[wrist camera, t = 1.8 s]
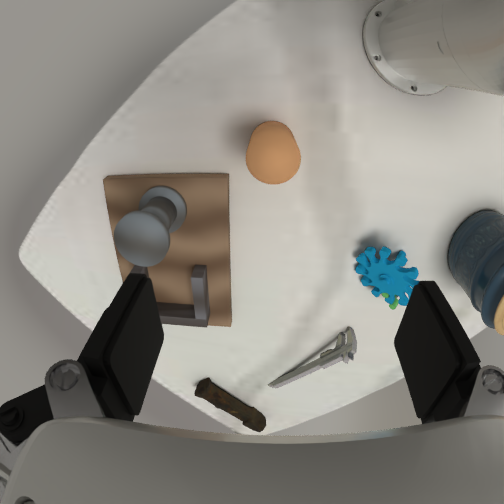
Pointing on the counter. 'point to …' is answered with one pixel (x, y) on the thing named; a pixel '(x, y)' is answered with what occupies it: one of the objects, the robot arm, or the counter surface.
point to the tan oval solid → (273, 153)
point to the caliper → (323, 359)
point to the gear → (387, 275)
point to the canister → (481, 264)
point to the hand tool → (231, 405)
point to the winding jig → (176, 242)
